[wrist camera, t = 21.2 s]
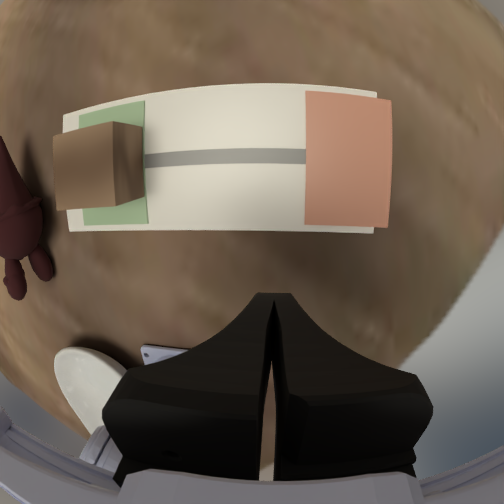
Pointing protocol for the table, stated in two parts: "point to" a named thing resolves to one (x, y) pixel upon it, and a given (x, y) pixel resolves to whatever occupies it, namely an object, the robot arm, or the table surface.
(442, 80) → the table surface
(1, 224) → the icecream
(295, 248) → the table surface
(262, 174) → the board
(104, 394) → the spoon rest
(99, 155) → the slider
